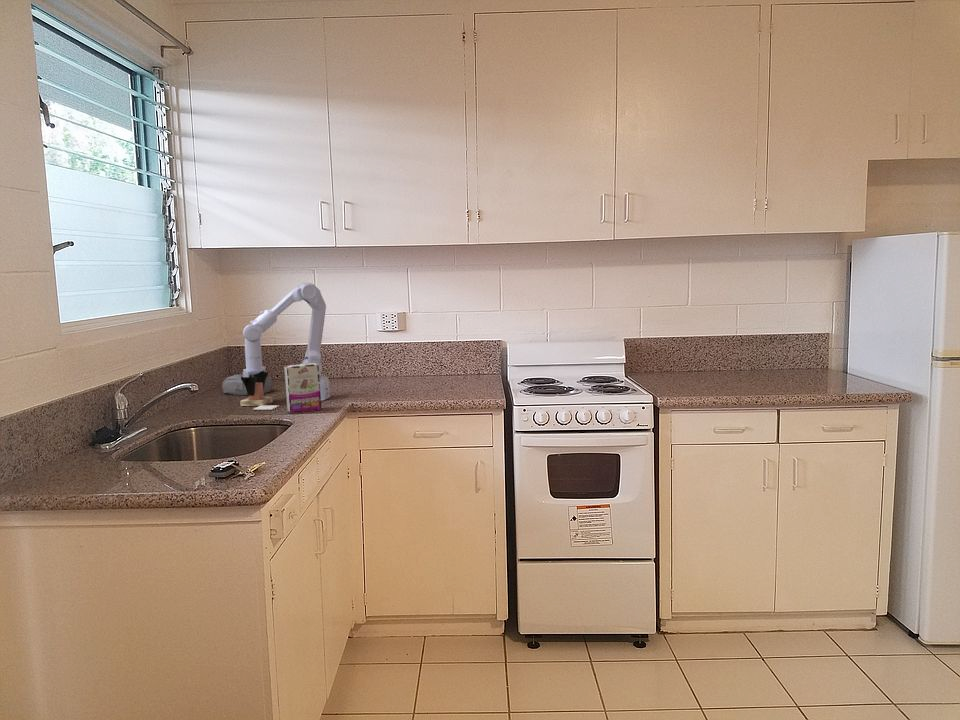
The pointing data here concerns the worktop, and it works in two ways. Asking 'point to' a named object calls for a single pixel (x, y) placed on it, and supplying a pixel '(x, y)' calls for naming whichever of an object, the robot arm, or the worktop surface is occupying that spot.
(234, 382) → the grey rounded bag
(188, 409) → the worktop surface
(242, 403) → the pocket holder
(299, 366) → the candy bar box
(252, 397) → the peg
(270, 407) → the mat
